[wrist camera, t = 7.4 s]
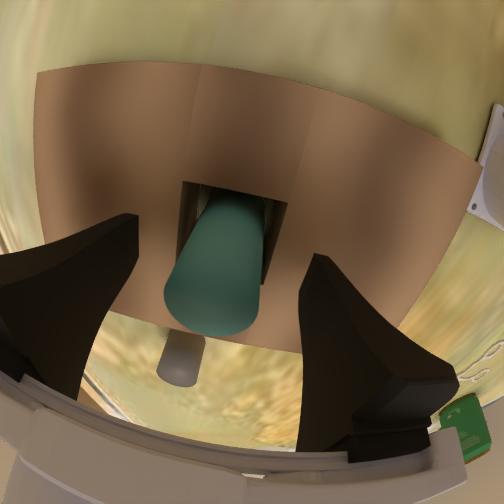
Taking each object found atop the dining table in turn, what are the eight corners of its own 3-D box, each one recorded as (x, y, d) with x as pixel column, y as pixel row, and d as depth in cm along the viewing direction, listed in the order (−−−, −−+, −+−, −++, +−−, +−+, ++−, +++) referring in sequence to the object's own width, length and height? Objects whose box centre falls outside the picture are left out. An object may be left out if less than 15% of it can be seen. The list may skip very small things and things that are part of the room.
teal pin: (277, 205, 15) (279, 305, 9) (240, 241, 17) (219, 347, 10) (233, 169, 14) (197, 245, 8) (198, 209, 16) (148, 302, 9)
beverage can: (443, 418, 34) (455, 469, 24) (433, 412, 32) (446, 471, 22) (478, 397, 31) (494, 448, 21) (473, 388, 28) (492, 447, 18)
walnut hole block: (443, 147, 12) (483, 167, 9) (360, 319, 20) (371, 360, 16) (81, 70, 11) (37, 72, 8) (84, 259, 19) (57, 292, 15)
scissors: (493, 372, 26) (381, 419, 30) (491, 368, 26) (380, 414, 31) (515, 331, 21) (384, 389, 25) (512, 327, 21) (382, 384, 26)
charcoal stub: (207, 331, 22) (197, 371, 18) (204, 353, 23) (195, 390, 20) (169, 322, 21) (155, 360, 18) (169, 344, 23) (157, 380, 20)
